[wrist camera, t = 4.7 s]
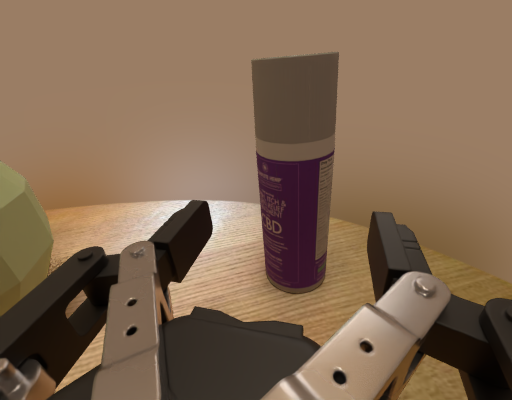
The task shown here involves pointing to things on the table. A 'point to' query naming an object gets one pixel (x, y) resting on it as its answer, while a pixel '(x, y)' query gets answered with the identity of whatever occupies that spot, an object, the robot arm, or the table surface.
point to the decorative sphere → (21, 239)
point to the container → (295, 164)
